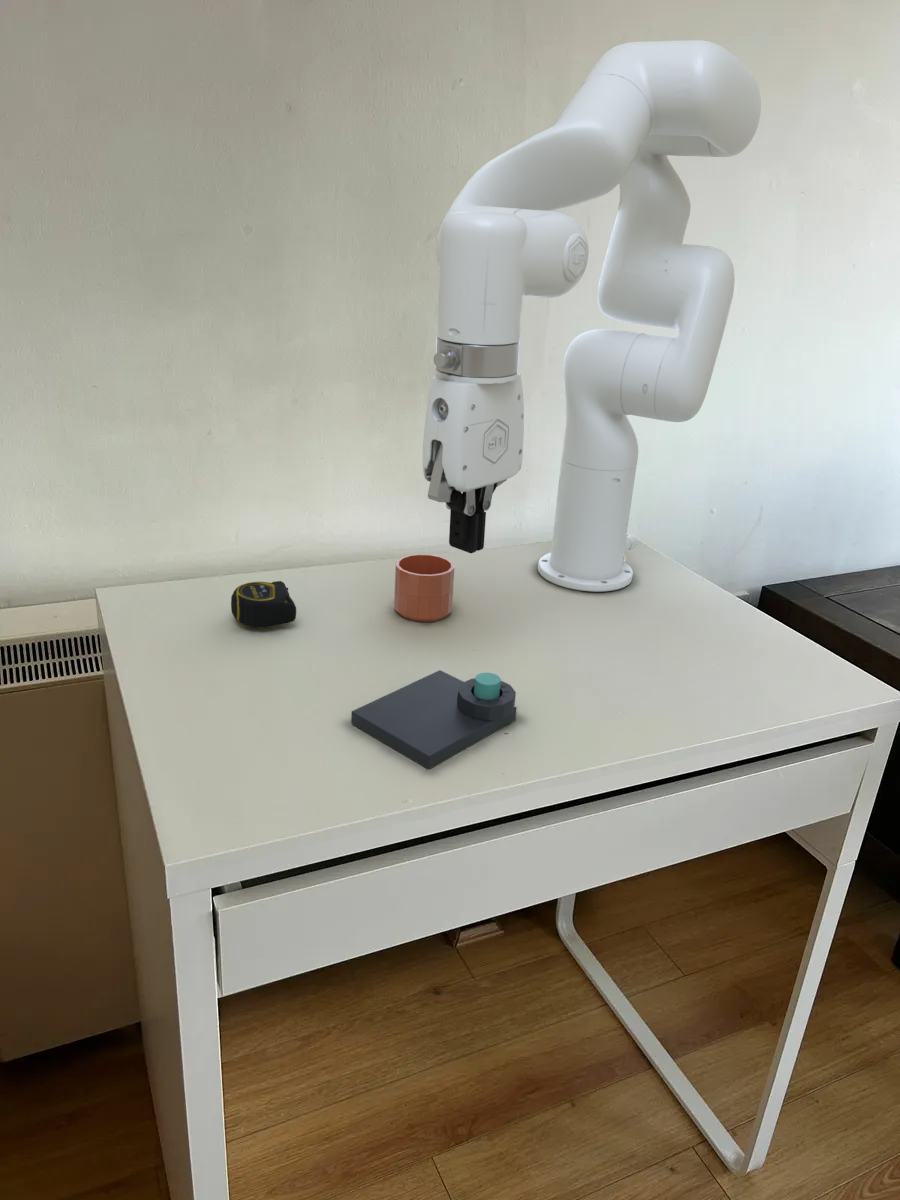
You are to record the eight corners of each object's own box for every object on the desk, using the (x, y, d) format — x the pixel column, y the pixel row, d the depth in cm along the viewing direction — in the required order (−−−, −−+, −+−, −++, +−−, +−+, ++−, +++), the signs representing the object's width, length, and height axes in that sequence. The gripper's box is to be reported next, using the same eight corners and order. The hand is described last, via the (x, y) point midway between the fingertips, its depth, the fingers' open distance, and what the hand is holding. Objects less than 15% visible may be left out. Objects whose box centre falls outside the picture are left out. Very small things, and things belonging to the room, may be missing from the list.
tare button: (485, 685, 86) (486, 669, 85) (504, 695, 85) (506, 679, 84) (468, 694, 84) (469, 677, 84) (488, 704, 83) (489, 687, 82)
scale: (443, 679, 92) (445, 653, 91) (523, 719, 86) (526, 692, 85) (350, 724, 83) (351, 696, 82) (432, 772, 77) (434, 742, 76)
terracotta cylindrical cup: (422, 594, 111) (424, 549, 109) (463, 612, 107) (466, 565, 105) (382, 609, 107) (383, 562, 104) (423, 628, 103) (425, 580, 100)
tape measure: (297, 631, 100) (297, 600, 99) (235, 636, 98) (233, 605, 97) (288, 606, 106) (288, 576, 105) (228, 610, 104) (227, 580, 103)
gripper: (454, 376, 74) (444, 579, 82) (558, 357, 85) (540, 539, 92) (389, 362, 79) (386, 556, 86) (495, 346, 89) (484, 520, 97)
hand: (466, 547), depth 89 cm, fingers closed
